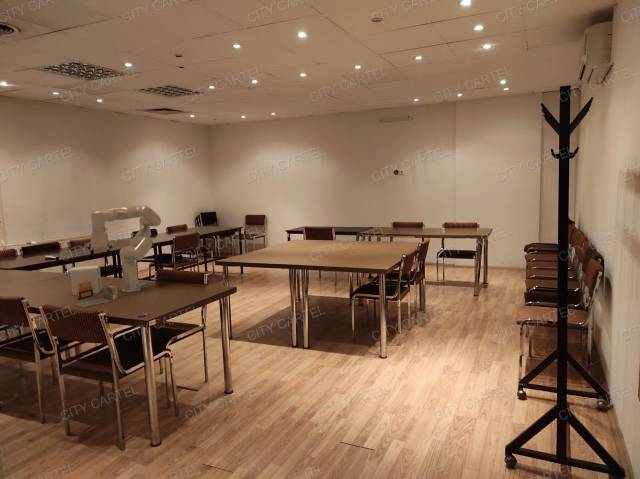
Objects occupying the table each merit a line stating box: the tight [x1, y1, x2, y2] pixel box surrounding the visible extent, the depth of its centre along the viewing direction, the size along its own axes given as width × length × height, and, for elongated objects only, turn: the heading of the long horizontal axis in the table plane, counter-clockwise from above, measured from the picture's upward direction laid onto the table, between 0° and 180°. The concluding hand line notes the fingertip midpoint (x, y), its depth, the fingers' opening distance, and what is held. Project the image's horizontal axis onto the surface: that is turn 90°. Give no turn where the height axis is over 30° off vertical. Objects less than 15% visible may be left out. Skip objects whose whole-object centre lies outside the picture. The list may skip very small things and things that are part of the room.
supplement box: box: [69, 264, 103, 296], centre depth 324 cm, size 17×13×18 cm
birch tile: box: [106, 285, 119, 301], centre depth 304 cm, size 3×7×8 cm, turn 50°
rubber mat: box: [73, 297, 113, 309], centre depth 293 cm, size 18×14×1 cm
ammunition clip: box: [76, 280, 95, 301], centre depth 308 cm, size 11×2×12 cm, turn 153°
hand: (100, 256), depth 303 cm, fingers open, 9 cm apart
